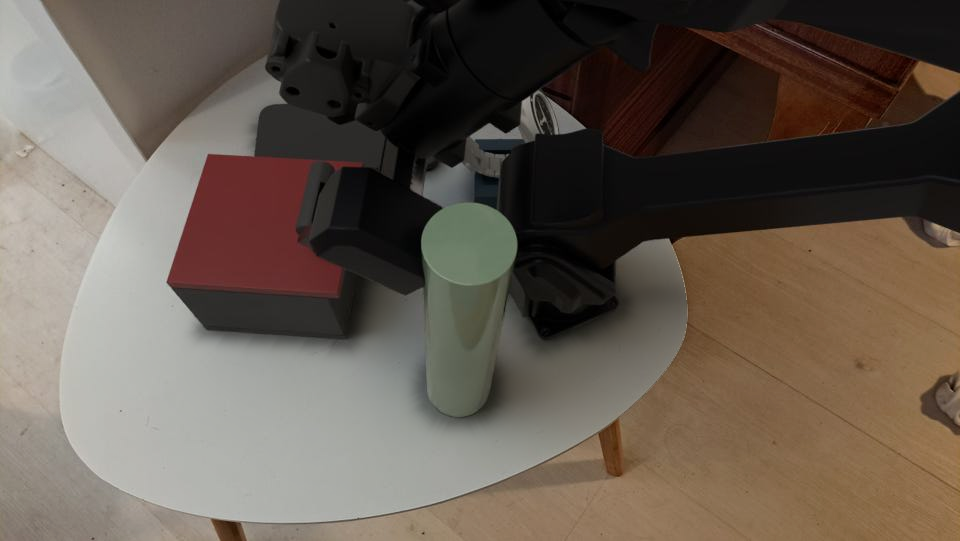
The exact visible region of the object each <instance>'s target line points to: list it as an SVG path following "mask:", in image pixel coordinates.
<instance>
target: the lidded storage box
mask: <svg viewBox="0 0 960 541" xmlns="http://www.w3.org/2000/svg"><path fill="white" fill-rule="evenodd" d="M357 280H358V275H357V274H355V273H353V272H350V271H348V270H346V269H345V272H344V278H343V283H342V288H341V293H340V298H326V297H311V296H296V295H280V294H265V293H250V292H235V291H220V290H205V289H190V288H175V287H170V289H171V290H172V291H173V292H174V294H175V295H176V296H177V297H178V298H179V299H180V301H181V302H182V303H183V305H185V307H186V308H187V309H188V310H189V311H190V313H191V314H192V315H193V316H194V317H195V318H196V319H197V321H198V322H199V323H200V324H201V325H202V327H203V328H204V329H205V330H207V331H219V332H221V331H222V332H237V333H248V334H249V333H251V334H265V335H278V336H280V335H281V336H293V337H307V338H308V337H309V338H322V339H338V340H347V336H348V331H349V330H348V329H349V324H350V318H351V312H352V307H353V303H354V297H355V291H356V285H357Z"/></svg>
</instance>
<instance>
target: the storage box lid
mask: <svg viewBox="0 0 960 541" xmlns="http://www.w3.org/2000/svg"><path fill="white" fill-rule="evenodd" d="M341 167H364V164H363V163H361V162H343V161H325V160H308V159H290V158H272V157H255V156H254V155H237V154H219V153H218V154H216V153H208V154H207V155H206V157H205V161H204V165H203V167H202V171H201V174H200V176H199V180H198V183H197V186H196V189H195V193H194V195H193V199H192V200H191V201H192V202H191V204H190V208H189V211H188V214H187V217H186V220H185V224H184V226H183V229H182V232H181V235H180V239H179V241H178V244H177V248H176V251H175V255H174V258H173V260H172V263H171V266H170V270H169V273H168V276H167V279H166V284H167V286H169V287H170V288H171V287H175V288H190V289H205V290H220V291H235V292H250V293H265V294H280V295H296V296H311V297H326V298H340V293H341V288H342V283H343V278H344V272H345V269H344V268H341V267H339V266H337V265H334V264H332V263H330V262H328V261H325V260H323V259H321V258H319V257H317V256H316V254H315V252H314V250H313V249H310V248H308V247H305V246H303V245H301V244H299V243H298V242H297V240H298V236H299V235H300V234H301V233H302V231H303V230H304V229H305V228H306V226H307V225H308V224H309V223H310V222H311V218H312V214H313V210H314V205H315V201H316V196H317V192H318V188H319V183H320V182H323V183H325V184H326V183H327V181H328V179H329V177H330V176H331V175H332V174H333V173H335V172H336V171H337V170H339V169H340V168H341Z"/></svg>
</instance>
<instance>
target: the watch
mask: <svg viewBox="0 0 960 541" xmlns="http://www.w3.org/2000/svg"><path fill="white" fill-rule="evenodd" d="M517 128H518V131H519V133H520V135H521V138H475V139H473V138H472V137H471V136H469V137H468V138H467V140H466V149H465V158H464V161H462V162H461V163H460V164H462V165H463V166H464V167H466V168H467V169H468V170H469V171H471V172H472V173H473V174H474V194H473V195H474V203H479V204H483V205H487V206H489V207H491V208H493V209H495V210H497V199H498V186H499V174H500V168H501V164H502V161H503V160H504V159H505V158H506V157H507V156H508V155H509V154H510V153H511V149H512V148H514V147H516V146H518V145H520V144H522V143H526V142H530V141H534V140H535V134H537V133H540V134H550V135H554V134H561V133H560V128H559V124H558V120H557V117H556V114H555V111H554V108H553V106H552V104H551V102H550V100H549V98H548V96H547V95H546V94H545V92H544V91H543V90H542V88H541V89H540V90H538V91H537V92H535V93H534V94H532V95H531V96H529V97H528V98H526V99H525V100H523V101H522V107H521V122H520V125H519V126H518V127H517Z"/></svg>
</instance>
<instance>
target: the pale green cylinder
mask: <svg viewBox="0 0 960 541" xmlns="http://www.w3.org/2000/svg"><path fill="white" fill-rule="evenodd" d="M517 246H518V243H517V237H516V233H515V231H514V229H513V227H512V225H511V223H510V222H509V221H508V220H507V218H506V217H505V216H503V215H502V214H501V213H500V212H498V211H497V210H495V209H493V208H491V207H489V206H487V205H483V204H479V203H475V202H471V201H468V202H467V201H465V202H457V203H453V204H451V205H447V206H446V207H443V209H442V210H440V211H439V212H437V213H436V214H435V215H434V216H433V217H432V218H431V219H430V220H429V221H428V223H427V224H426V226H425V228H424V231H423V233H422V238H421V255H422V265H423V271H424V276H425V286H424V287H422V301H423V302H422V303H423V325H424V328H423V329H424V348H425V349H424V350H425V354H424V355H425V373H426V374H425V375H426V376H425V377H426V393H427V396H428V398H429V401H430V403H431V404H432V405H433V407H434V408H435V409H436V410H438V412H440V413H442V414H444V415H446V416H449V417H454V418H463V417H468V416H470V415H473V414H475V413H477V412H478V411H480V409H482V408H483V406H484V405H485V404H486V402H487V401H488V398H489V396H490V392H491V386H492V382H493V376H494V371H495V365H496V362H497V361H496V360H497V356H498V350H499V346H500V340H501V336H502V330H503V325H504V321H505V315H506V309H507V304H508V299H509V294H510V292H509V290H510V285H511V280H512V275H513V270H514V265H515V259H516V254H517Z"/></svg>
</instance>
